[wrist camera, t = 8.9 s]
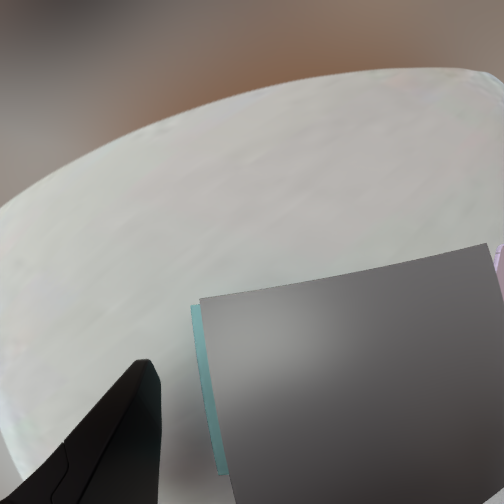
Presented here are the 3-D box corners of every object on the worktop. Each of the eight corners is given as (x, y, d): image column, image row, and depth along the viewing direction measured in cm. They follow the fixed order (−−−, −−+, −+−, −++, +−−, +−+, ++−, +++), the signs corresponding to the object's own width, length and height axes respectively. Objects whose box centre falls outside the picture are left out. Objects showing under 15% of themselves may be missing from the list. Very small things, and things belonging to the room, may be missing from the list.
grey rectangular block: (333, 405, 14) (512, 480, 2) (255, 421, 13) (260, 586, 2) (320, 331, 15) (486, 242, 3) (242, 345, 15) (198, 297, 3)
